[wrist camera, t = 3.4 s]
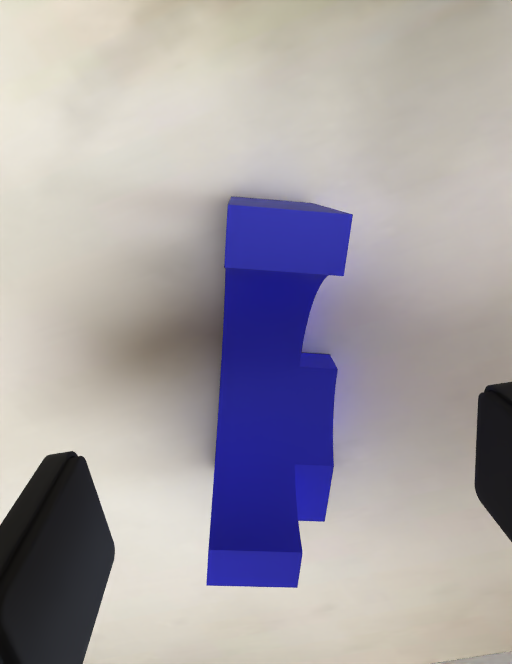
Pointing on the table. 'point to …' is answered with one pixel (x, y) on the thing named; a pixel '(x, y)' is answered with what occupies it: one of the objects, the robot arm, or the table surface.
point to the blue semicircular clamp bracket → (272, 390)
